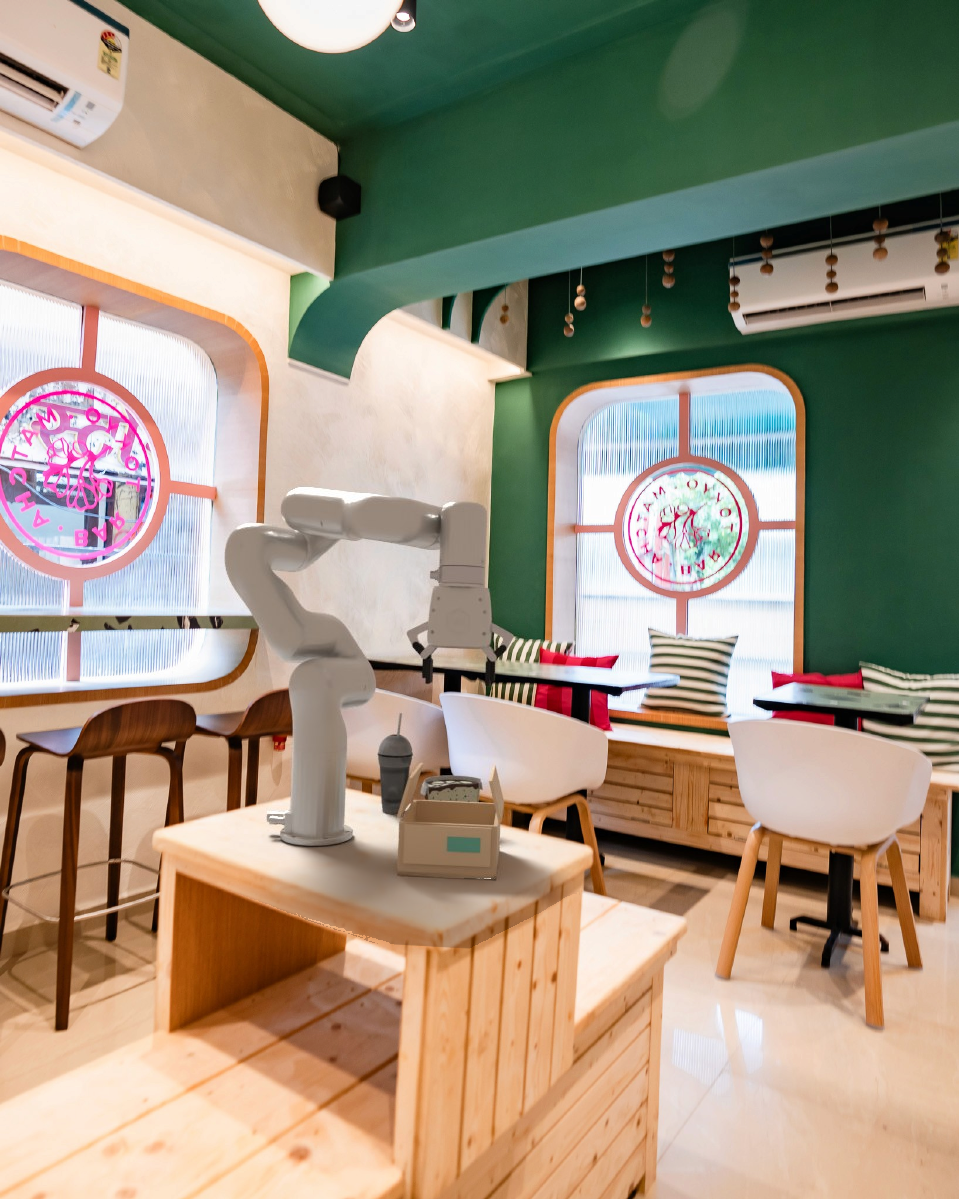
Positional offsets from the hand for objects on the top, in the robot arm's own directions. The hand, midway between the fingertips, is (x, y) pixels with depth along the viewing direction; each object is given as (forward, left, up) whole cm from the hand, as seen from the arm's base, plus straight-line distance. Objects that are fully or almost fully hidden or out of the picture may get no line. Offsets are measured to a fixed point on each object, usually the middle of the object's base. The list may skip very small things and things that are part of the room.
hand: (458, 684), depth 129 cm
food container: (-3, +19, -29) cm, 35 cm away
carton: (0, +1, -29) cm, 29 cm away
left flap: (-7, +1, -17) cm, 19 cm away
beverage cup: (-15, +34, -29) cm, 47 cm away
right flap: (+6, +1, -17) cm, 18 cm away
